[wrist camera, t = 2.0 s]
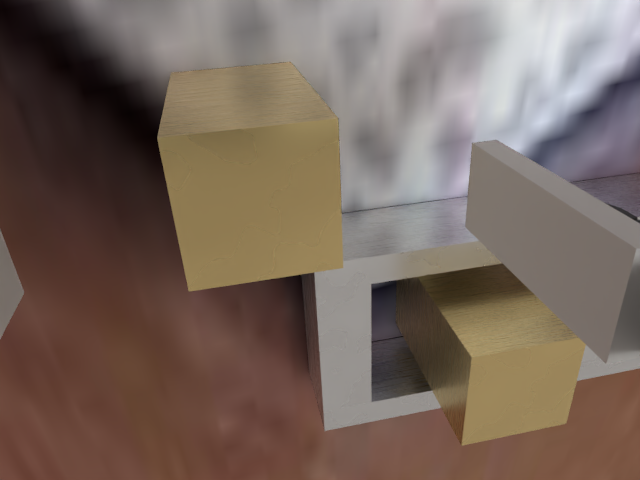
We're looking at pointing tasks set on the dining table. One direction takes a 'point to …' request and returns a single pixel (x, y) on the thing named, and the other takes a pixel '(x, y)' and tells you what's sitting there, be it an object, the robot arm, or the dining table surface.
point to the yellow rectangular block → (251, 174)
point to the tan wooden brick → (489, 351)
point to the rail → (394, 264)
